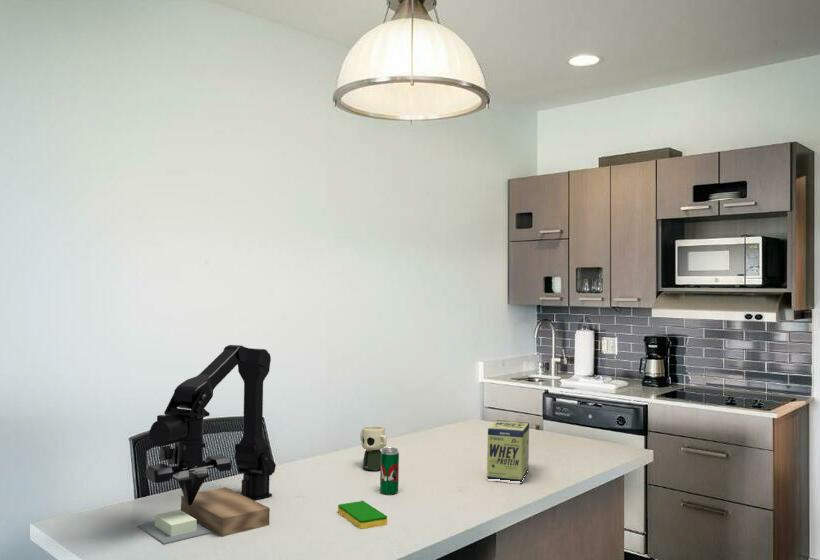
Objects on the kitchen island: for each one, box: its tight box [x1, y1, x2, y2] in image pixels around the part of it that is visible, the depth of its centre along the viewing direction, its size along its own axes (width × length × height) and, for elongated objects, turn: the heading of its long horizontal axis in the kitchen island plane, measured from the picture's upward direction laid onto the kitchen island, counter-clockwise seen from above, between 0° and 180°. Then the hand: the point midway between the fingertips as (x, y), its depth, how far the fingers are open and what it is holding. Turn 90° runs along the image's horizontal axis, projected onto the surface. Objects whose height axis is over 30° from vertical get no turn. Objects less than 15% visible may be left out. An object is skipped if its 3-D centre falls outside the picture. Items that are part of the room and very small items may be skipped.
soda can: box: [379, 446, 400, 495], centre depth 192 cm, size 5×5×12 cm
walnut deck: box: [180, 487, 271, 537], centre depth 168 cm, size 12×22×4 cm, turn 42°
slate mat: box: [137, 520, 212, 545], centre depth 160 cm, size 11×15×1 cm
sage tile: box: [154, 509, 198, 537], centre depth 160 cm, size 6×9×2 cm, turn 43°
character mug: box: [359, 425, 387, 471], centre depth 216 cm, size 11×7×13 cm, turn 49°
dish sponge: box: [337, 500, 388, 530], centre depth 170 cm, size 7×14×2 cm, turn 29°
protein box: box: [486, 419, 530, 483], centre depth 211 cm, size 10×16×16 cm
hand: (189, 504), depth 162 cm, fingers closed
